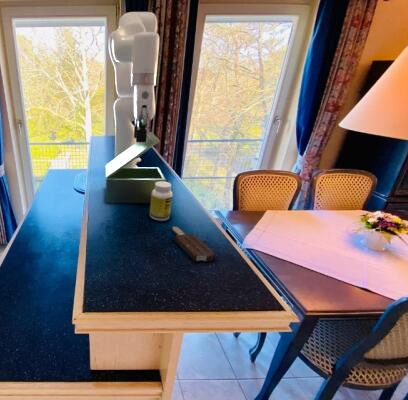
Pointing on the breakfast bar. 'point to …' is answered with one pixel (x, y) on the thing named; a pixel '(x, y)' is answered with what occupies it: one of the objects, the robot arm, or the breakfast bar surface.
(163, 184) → the pill bottle
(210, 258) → the ice cream bar
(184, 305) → the breakfast bar surface
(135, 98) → the robot arm
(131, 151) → the bin lid
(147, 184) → the bin
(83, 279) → the breakfast bar surface
